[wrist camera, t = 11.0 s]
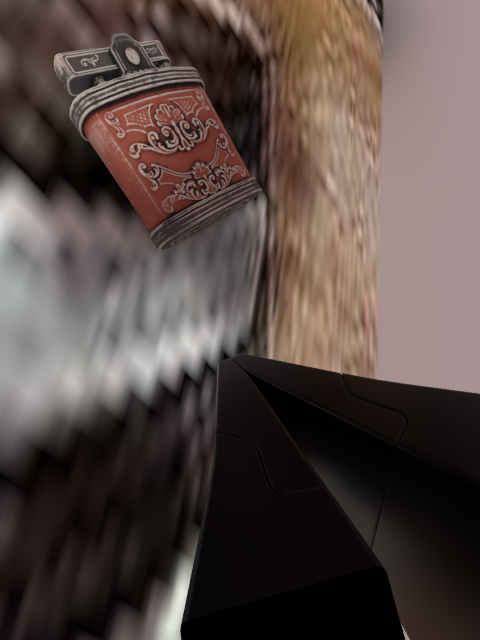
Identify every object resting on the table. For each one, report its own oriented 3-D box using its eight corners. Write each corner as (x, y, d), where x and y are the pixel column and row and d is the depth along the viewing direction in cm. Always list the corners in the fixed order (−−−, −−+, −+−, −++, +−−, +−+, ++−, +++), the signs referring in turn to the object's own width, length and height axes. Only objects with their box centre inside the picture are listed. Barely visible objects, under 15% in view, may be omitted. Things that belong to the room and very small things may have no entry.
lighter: (246, 205, 19) (166, 65, 17) (272, 181, 16) (180, 8, 14) (154, 256, 16) (41, 91, 14) (165, 238, 13) (23, 24, 11)
